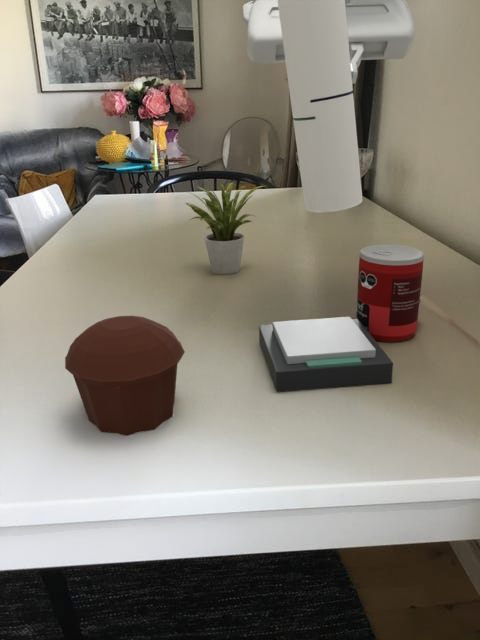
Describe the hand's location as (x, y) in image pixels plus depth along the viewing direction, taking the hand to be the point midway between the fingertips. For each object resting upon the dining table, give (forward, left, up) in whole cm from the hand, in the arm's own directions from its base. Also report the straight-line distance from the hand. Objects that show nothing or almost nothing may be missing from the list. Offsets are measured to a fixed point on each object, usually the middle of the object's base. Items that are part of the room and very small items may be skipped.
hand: (335, 80), depth 66 cm
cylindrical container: (0, +1, -14) cm, 15 cm away
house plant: (+11, -29, -31) cm, 44 cm away
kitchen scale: (+4, +11, -31) cm, 33 cm away
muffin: (+26, +19, -31) cm, 45 cm away
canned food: (-7, +3, -31) cm, 32 cm away
